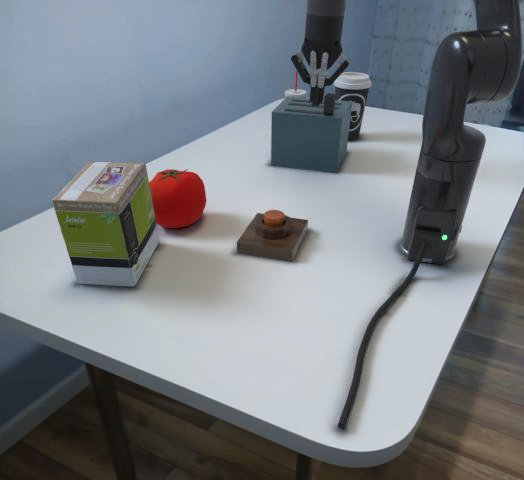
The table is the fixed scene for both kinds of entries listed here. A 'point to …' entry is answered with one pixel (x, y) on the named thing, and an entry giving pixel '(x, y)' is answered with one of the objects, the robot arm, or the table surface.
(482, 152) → the robot arm
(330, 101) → the slider
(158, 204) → the tomato
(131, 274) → the tea box
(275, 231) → the block
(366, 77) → the coffee cup
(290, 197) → the table surface
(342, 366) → the table surface
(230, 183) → the table surface
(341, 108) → the toaster
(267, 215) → the button
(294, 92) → the beverage cup
